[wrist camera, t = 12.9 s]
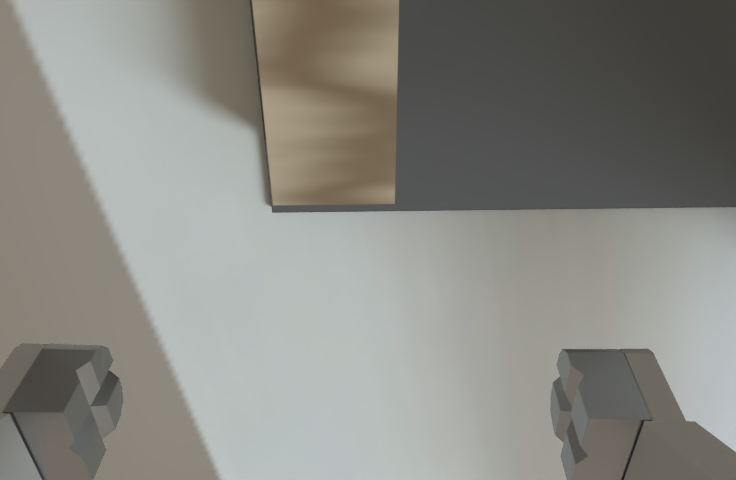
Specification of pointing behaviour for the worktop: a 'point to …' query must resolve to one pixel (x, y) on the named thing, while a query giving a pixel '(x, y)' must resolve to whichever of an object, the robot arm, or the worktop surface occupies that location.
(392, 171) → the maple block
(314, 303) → the worktop surface
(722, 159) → the charcoal mat
